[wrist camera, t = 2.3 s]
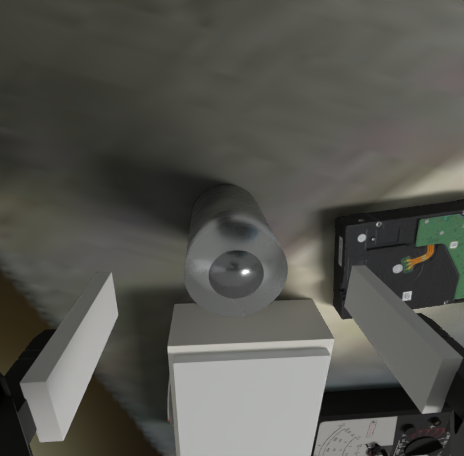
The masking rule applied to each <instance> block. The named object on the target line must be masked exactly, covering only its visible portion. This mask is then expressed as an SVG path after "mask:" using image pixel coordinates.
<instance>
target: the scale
mask: <svg viewBox="0 0 464 456" xmlns="http://www.w3.org/2000/svg"><path fill="white" fill-rule="evenodd" d="M333 343H334V337H333V335H332V334H331V332H330V330H329V328H328V326H327V325H326V323H325V321H324V319H323V318H322V316H321V314H320V312H319V310H318V309H317V307H316V305H315V303H314V301H313V300H312V299H309V300H278V301H273V302H272V303H271V304H269V305H268V306H267V307H265V308H263V309H262V310H260V311H258V312H255V313H253V314H250V315H246V316H240V317H226V316H220V315H216V314H213V313H211V312H209V311H207V310H205V309H203V308H202V307H200V306H199V305H198V304H197V303H188V304H174V310H173V316H172V321H171V327H170V333H169V339H168V345H167V348H168V360H169V372H170V376H169V384H168V403H167V408H168V419H167V422H170V424H171V425H174V431H175V443H176V454H177V456H311V452H312V447H313V442H314V437H315V432H316V428H317V423H318V418H319V413H320V408H321V403H322V398H323V393H324V388H325V383H326V378H327V373H328V368H329V363H330V358H331V353H332V348H333Z"/></svg>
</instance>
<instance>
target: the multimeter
mask: <svg viewBox="0 0 464 456" xmlns="http://www.w3.org/2000/svg"><path fill="white" fill-rule="evenodd" d="M452 411H453V409H452V408H451V407H450V406H449V404H448V403H447V402H446V401H445V403H444V405H443V408H442V410H441V412H438V413H425V414H422V413H421V412H420V410H419V409H418V408H417V406H416V405H415V403H414V402H413V401H412V399H411V398H410V397H409V395H408V394H407V392H406V391H405V390H404V388H403V387H400V388H384V389H369V390H353V391H338V392H324V393H323V398H322V403H321V408H320V413H319V418H318V423H317V428H316V432H315V437H314V442H313V447H312V452H311V456H450V454H451V452H450V429H449V431H448V432H446V431H444V430H445V427H446V425H447V422H448V420H449V418H450V415H451V413H452Z"/></svg>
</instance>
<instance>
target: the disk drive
mask: <svg viewBox="0 0 464 456" xmlns="http://www.w3.org/2000/svg"><path fill="white" fill-rule="evenodd" d="M335 228H336V230H335V233H336V234H335V254H334V255H335V257H334V289H333V291H334V296H333V297H334V298H333V306H334V307H335V309H336V311H337V312H338V314H339V315H340V317H341V318H342V319H352V316H351V315H350V314H349V312H348V311H347V310H346V308H345V307H344V304H345V299H346V294H347V289H348V284H349V279H350V274H351V269H352V266H359V265H365V266H366V267H367V268H368V269H370V270H371V271H372V272H373V273H374V274H375V275H376V276H377V277H378V278H379V279H380V280H381V281H382V282H383V283H384V284H385V285H386V286H388V287H389V288H390V289H391V290H392V291H393V292H394V293H395V294H396V295H397V296H398V297H399V298H400V299H401V300H402V301H403V302H405V303H406V304H407V305H408V306H409V307H410V308H411V309H419V308H425V307H432V306H436V305H437V306H440V305H443V304H451V303H461V302H464V199H462V200H457V201H451V202H444V203H437V204H430V205H423V206H415V207H407V208H401V209H395V210H387V211H380V212H372V213H362V214H355V215H350V216H343V217H337V218H336V225H335Z"/></svg>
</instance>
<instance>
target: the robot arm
mask: <svg viewBox="0 0 464 456" xmlns="http://www.w3.org/2000/svg"><path fill="white" fill-rule="evenodd" d="M344 307H345V308H346V310H347V311H348V312H349V314H350V315H351V316H352V318H353V319H354V321H355V322H356V323H357V325H358V326H359V328H360V329H361V330H362V332H363V333H364V334H365V336H366V337H367V339H368V340H369V341H370V343H371V344H372V345H373V347H374V348H375V350H376V351H377V352H378V354H379V355H380V356H381V358H382V359H383V361H384V362H385V363H386V365H387V366H388V368H389V369H390V370H391V372H392V373H393V374H394V376H395V377H396V379H397V380H398V381H399V383H400V384H401V385H402V387H403V388H404V390H405V391H406V392H407V394H408V395H409V397H410V398H411V399H412V401H413V402H414V403H415V405H416V406H417V408H418V409H419V410H420V412H421V413H422V414H425V413H438V412H441V410H442V408H443V405H444V403H445V401H446V402H447V403H448V404H449V406H450V407H451V408H452V409H453V411H452V413H451V415H450V418H449V420H448V422H447V425H446V427H445V430H444V431H446V432H448V431H449V429H450V452H451V456H464V348H463V347H462V346H461V345H460V344H459V343H458V342H457V341H455V340H454V339H453V338H452V337H450V335H449V334H448V333H447V332H446V331H444V330H442V328H441V327H440V326H439V325H438V324H437V323H436V322H434V321H433V320H432V319H430V318H428V317H427V316H425V315H423V314H421V313H415V312H414V311H413V310H412V309H411V308H410V307H409V306H408V305H407V304H406V303H405V302H403V301H402V300H401V299H400V298H399V297H398V296H397V295H396V294H395V293H394V292H393V291H392V290H391V289H390V288H389V287H388V286H386V285H385V284H384V283H383V282H382V281H381V280H380V279H379V278H378V277H377V276H376V275H375V274H374V273H373V272H372V271H371V270H370V269H368V268H367V267H366V266H365V265H359V266H352V269H351V274H350V279H349V284H348V289H347V294H346V299H345V304H344ZM117 317H118V310H117V304H116V297H115V291H114V284H113V278H112V272H96V274H95V275H94V277H93V278H92V279H91V281H90V282H89V284H88V285H87V287H86V288H85V289H84V291H83V292H82V294H81V295H80V297H79V298H78V300H77V301H76V302H75V304H74V305H73V307H72V308H71V310H70V311H69V313H68V314H67V315H66V317H65V318H64V320H63V321H62V323H61V324H60V326H59V327H58V328H57V329H51V330H44V331H43V332H42V333H40V334H39V335H38V336H36V337H35V338H34V339H33V340H32V341H31V342H30V344H29V345H28V346H27V347H26V349H25V351H23V353H22V354H21V355H20V357H19V359H18V360H17V361H16V362H15V363H14V364H13V366H12V367H11V368H10V370H9V371H8V372H7V373H6V375H5V376H3V375H2V374H1V373H0V456H33V454H32V451H31V448H30V445H29V444H30V442H31V440H32V438H33V436H34V434H35V432H37V435H38V438H39V441H40V442H48V441H49V442H50V441H63V440H64V437H65V436H66V433H67V431H68V429H69V427H70V424H71V422H72V420H73V418H74V415H75V413H76V411H77V408H78V406H79V404H80V401H81V399H82V397H83V395H84V392H85V390H86V388H87V386H88V383H89V381H90V379H91V376H92V374H93V372H94V369H95V367H96V365H97V363H98V360H99V358H100V356H101V353H102V351H103V349H104V347H105V344H106V342H107V340H108V337H109V335H110V333H111V330H112V328H113V326H114V324H115V321H116V319H117Z"/></svg>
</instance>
